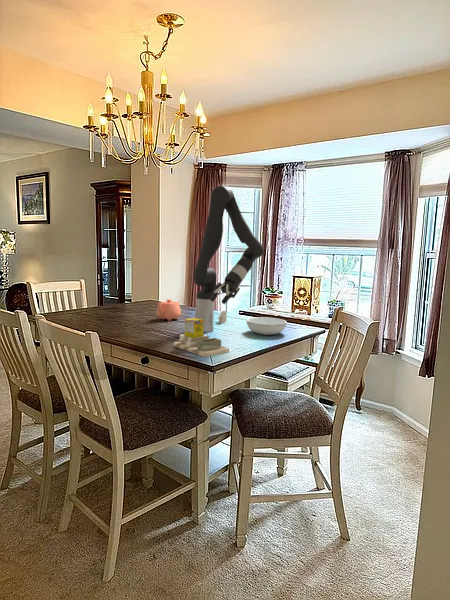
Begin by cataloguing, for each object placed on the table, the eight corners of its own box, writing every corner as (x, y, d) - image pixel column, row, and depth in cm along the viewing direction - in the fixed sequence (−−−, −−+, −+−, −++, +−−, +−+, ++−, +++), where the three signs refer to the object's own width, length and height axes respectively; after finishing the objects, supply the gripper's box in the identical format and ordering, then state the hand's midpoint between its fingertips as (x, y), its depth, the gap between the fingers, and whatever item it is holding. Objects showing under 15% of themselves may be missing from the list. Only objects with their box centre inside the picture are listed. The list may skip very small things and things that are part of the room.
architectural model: (216, 324, 240) (216, 311, 239) (222, 322, 247) (222, 309, 245) (221, 324, 239) (222, 311, 238) (227, 322, 245) (227, 310, 244)
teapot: (170, 316, 258) (171, 296, 256) (186, 318, 252) (186, 298, 250) (149, 321, 241) (149, 300, 240) (165, 323, 235) (165, 302, 233)
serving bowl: (294, 334, 218) (294, 321, 217) (267, 340, 204) (268, 326, 203) (264, 327, 233) (264, 315, 232) (237, 332, 219) (238, 319, 218)
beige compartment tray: (173, 345, 188) (173, 334, 187) (198, 341, 197) (198, 331, 196) (203, 356, 171) (203, 345, 171) (229, 351, 180) (229, 340, 180)
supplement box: (203, 342, 189) (203, 319, 187) (194, 345, 184) (195, 320, 182) (193, 340, 192) (193, 317, 190) (184, 342, 187) (184, 319, 186)
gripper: (222, 269, 202) (203, 294, 196) (242, 272, 191) (222, 298, 186) (230, 280, 206) (211, 304, 201) (250, 282, 196) (231, 309, 190)
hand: (216, 301), depth 193 cm, fingers open, 8 cm apart
